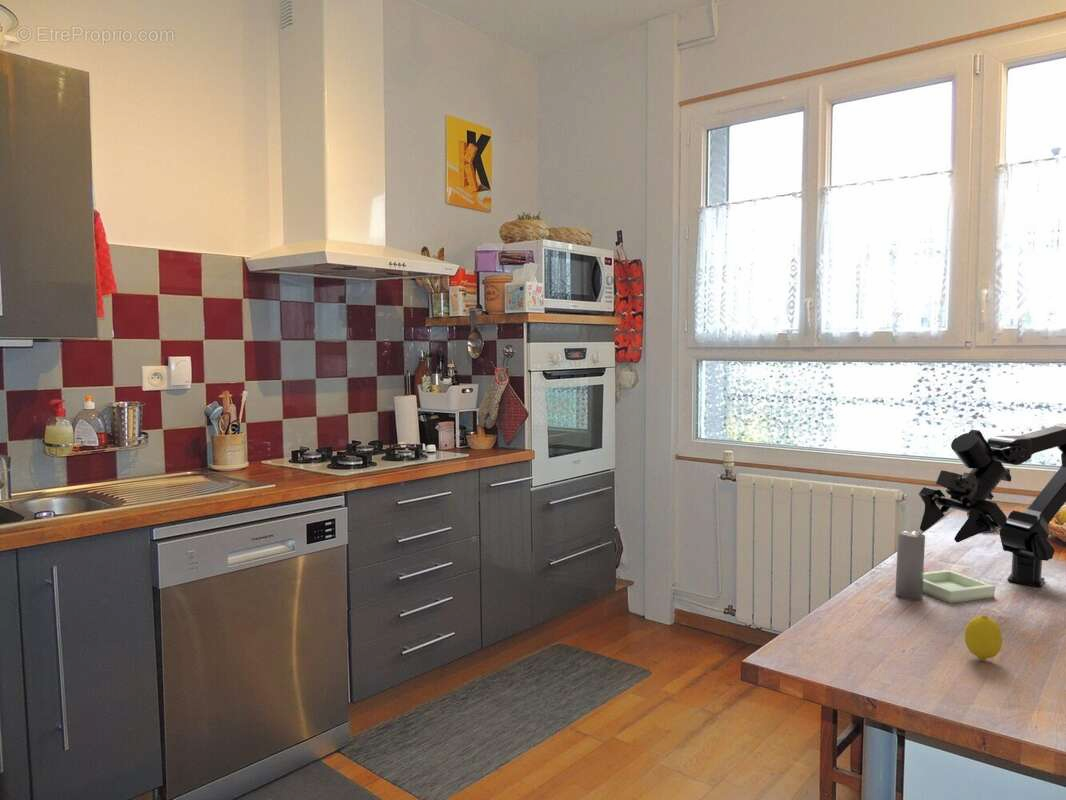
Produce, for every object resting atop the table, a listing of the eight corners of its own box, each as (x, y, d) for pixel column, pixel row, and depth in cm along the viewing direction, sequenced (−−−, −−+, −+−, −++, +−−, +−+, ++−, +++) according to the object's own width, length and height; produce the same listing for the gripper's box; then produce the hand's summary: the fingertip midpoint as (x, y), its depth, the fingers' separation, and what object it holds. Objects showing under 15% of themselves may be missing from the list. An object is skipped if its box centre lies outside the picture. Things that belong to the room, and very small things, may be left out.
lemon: (1006, 668, 127) (1009, 622, 126) (970, 665, 128) (972, 619, 127) (993, 655, 132) (995, 610, 131) (959, 652, 133) (961, 608, 132)
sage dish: (948, 580, 173) (948, 569, 172) (994, 597, 161) (995, 586, 161) (906, 585, 169) (906, 574, 169) (950, 603, 158) (950, 591, 157)
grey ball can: (899, 590, 166) (901, 527, 164) (925, 595, 162) (927, 531, 161) (892, 596, 162) (895, 532, 160) (919, 602, 158) (921, 536, 157)
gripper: (927, 451, 172) (885, 502, 170) (999, 464, 154) (954, 521, 152) (952, 483, 175) (912, 533, 173) (1026, 500, 157) (982, 556, 155)
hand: (938, 535), depth 163 cm, fingers open, 9 cm apart
